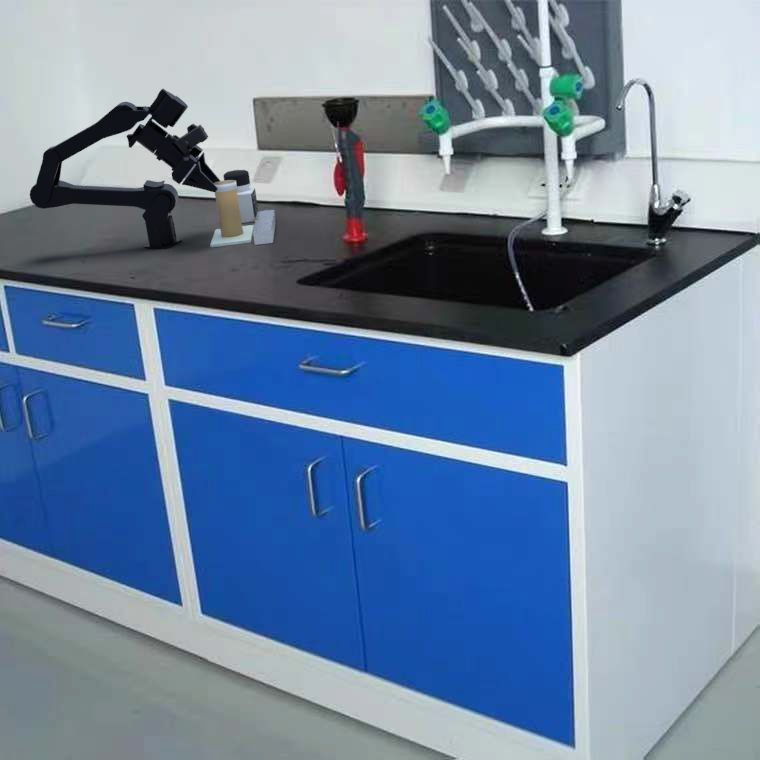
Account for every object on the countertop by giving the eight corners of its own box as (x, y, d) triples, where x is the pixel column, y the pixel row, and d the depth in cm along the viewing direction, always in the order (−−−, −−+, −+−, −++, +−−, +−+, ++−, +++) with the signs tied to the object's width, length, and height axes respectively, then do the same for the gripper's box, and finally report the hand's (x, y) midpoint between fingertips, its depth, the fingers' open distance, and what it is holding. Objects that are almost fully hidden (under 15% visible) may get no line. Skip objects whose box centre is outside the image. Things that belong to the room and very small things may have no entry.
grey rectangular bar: (272, 242, 279) (271, 229, 278) (254, 245, 278) (252, 231, 277) (276, 219, 302) (274, 207, 301) (259, 221, 302) (257, 209, 301)
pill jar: (236, 237, 285) (228, 184, 281) (216, 237, 288) (208, 185, 284) (247, 231, 290) (240, 179, 286) (228, 231, 292) (220, 180, 288)
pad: (210, 247, 281) (210, 244, 281) (216, 231, 296) (215, 229, 296) (250, 242, 281) (250, 239, 281) (254, 227, 296) (253, 224, 296)
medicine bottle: (255, 221, 302) (248, 172, 298) (226, 224, 303) (218, 175, 299) (259, 215, 309) (252, 166, 305) (230, 218, 309) (222, 169, 306)
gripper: (178, 120, 271) (237, 165, 274) (186, 109, 288) (241, 152, 292) (147, 161, 273) (206, 205, 277) (157, 148, 291) (213, 190, 294)
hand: (218, 186), depth 285 cm, fingers open, 9 cm apart
